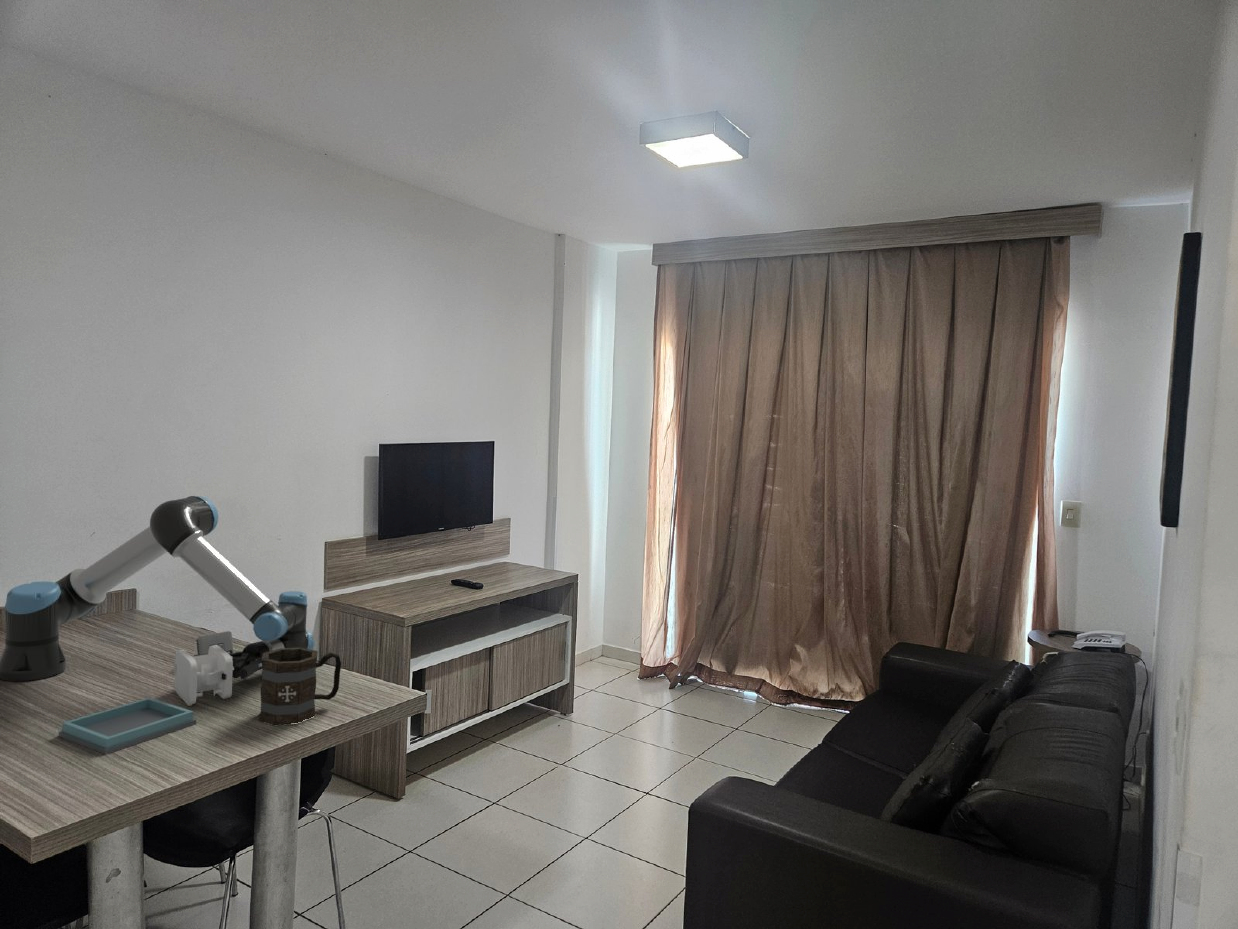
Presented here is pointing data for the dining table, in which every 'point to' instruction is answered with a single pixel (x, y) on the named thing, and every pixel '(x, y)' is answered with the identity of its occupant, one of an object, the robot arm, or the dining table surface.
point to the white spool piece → (202, 674)
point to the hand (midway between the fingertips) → (191, 674)
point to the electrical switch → (215, 642)
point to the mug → (292, 684)
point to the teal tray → (126, 725)
